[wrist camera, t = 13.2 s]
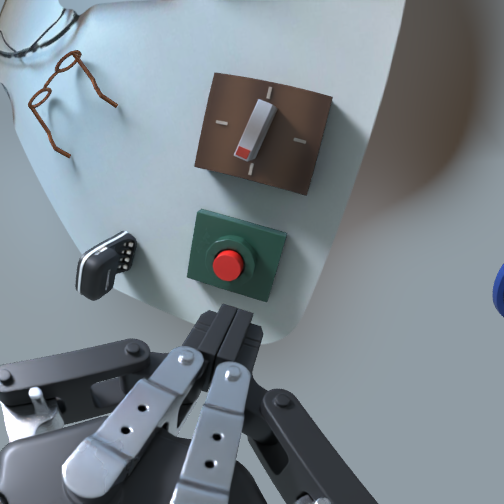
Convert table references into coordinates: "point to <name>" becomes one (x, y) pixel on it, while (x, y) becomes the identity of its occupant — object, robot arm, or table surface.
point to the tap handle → (255, 130)
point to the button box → (245, 244)
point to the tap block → (276, 140)
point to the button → (228, 265)
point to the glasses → (57, 70)
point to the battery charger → (104, 265)
